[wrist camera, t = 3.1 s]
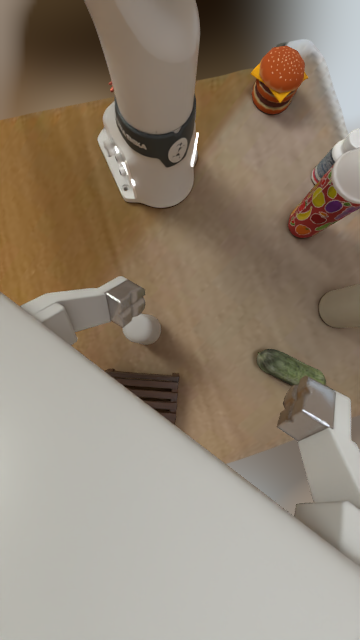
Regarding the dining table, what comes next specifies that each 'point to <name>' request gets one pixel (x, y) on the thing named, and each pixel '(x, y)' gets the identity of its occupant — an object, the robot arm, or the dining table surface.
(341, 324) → the travel mug
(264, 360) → the vegetable
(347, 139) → the pill bottle
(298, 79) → the hamburger
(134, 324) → the salt shaker
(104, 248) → the dining table surface
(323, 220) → the smoothie
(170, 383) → the drying rack
